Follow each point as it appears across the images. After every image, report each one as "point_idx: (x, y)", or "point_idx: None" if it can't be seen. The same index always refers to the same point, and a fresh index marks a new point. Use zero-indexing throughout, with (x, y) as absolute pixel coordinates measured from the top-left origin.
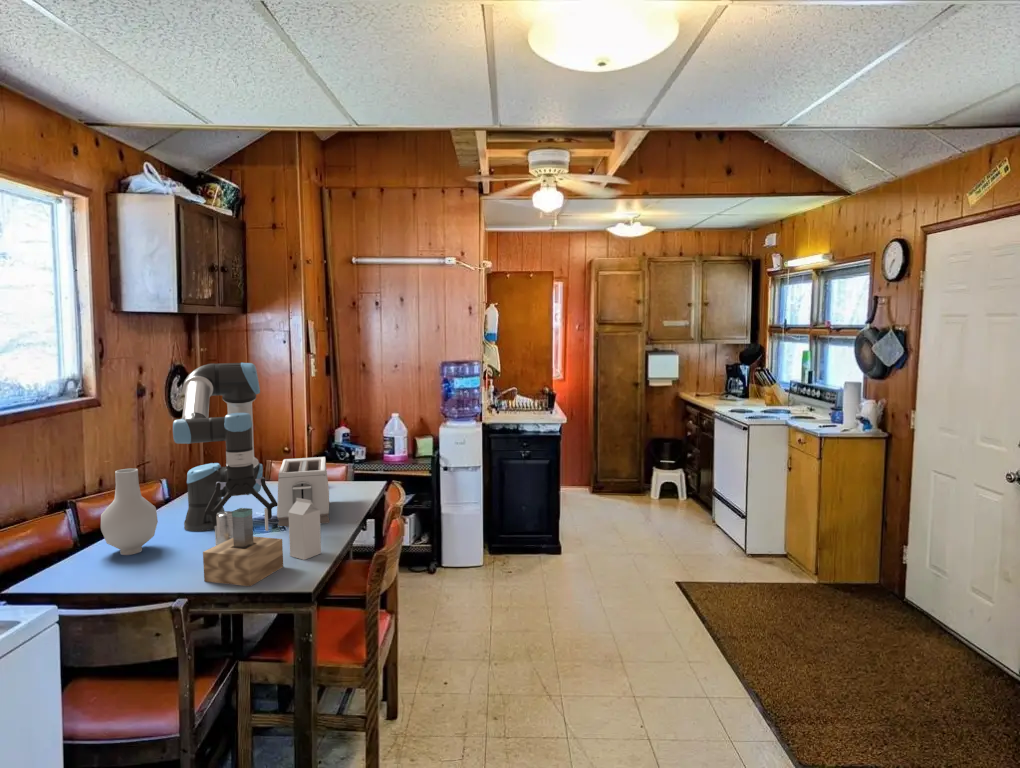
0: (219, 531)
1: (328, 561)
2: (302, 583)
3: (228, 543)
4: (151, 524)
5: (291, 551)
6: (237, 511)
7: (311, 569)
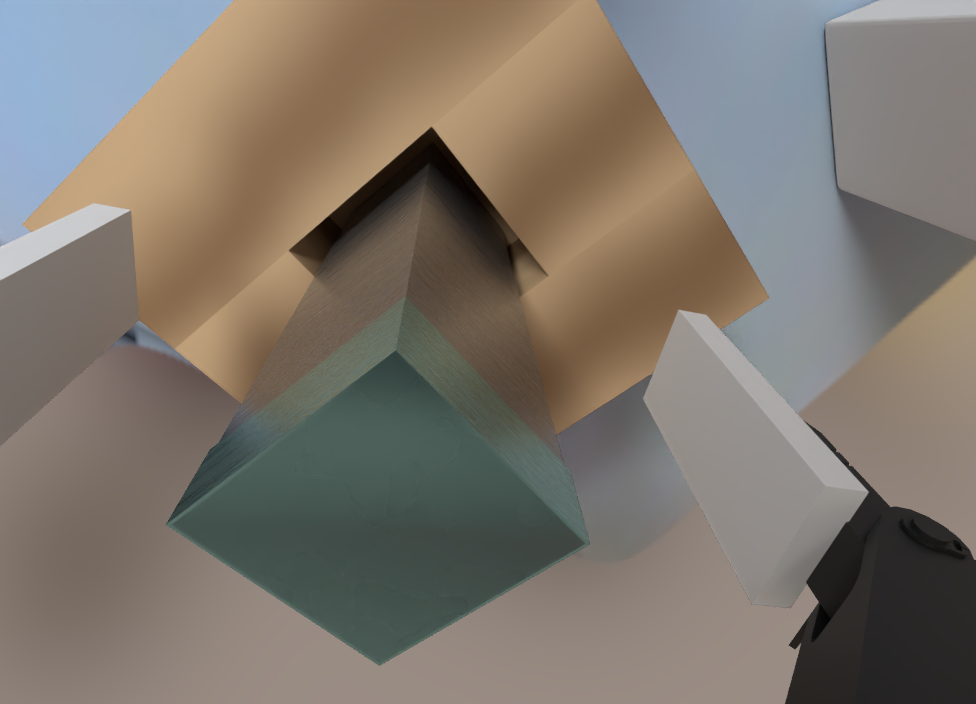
0: (95, 353)
1: (913, 301)
2: (633, 500)
3: (288, 94)
4: None
5: (851, 45)
6: (283, 573)
7: (767, 363)
